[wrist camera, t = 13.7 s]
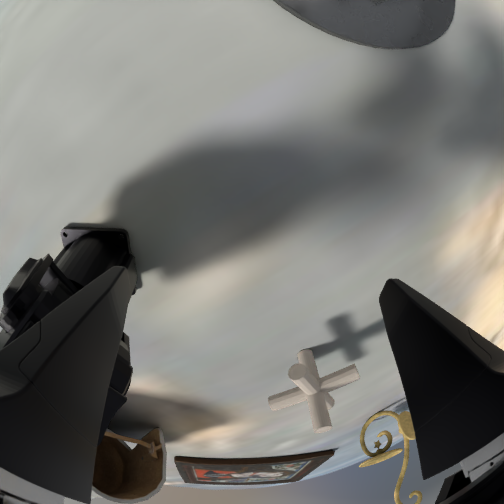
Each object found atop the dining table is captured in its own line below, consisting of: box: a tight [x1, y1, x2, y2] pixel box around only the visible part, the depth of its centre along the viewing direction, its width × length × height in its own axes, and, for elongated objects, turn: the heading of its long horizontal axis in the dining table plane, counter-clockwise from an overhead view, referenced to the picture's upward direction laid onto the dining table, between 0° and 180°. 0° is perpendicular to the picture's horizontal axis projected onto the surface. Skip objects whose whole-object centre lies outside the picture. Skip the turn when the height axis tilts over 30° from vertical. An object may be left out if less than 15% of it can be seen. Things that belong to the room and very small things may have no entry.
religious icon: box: [174, 450, 335, 485], centre depth 67 cm, size 40×45×3 cm
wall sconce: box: [359, 411, 422, 504], centre depth 36 cm, size 14×10×25 cm
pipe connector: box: [268, 349, 360, 433], centre depth 26 cm, size 10×10×10 cm
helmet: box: [91, 428, 167, 504], centre depth 34 cm, size 19×18×30 cm
